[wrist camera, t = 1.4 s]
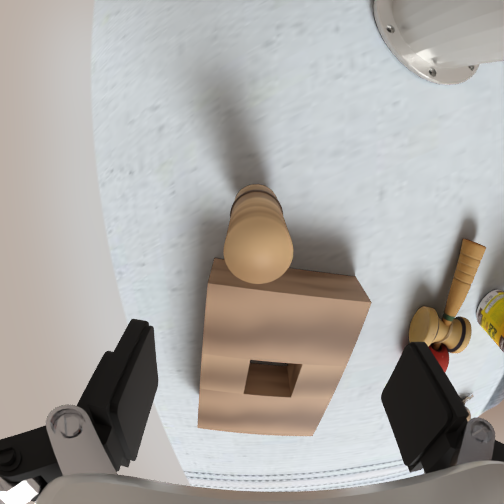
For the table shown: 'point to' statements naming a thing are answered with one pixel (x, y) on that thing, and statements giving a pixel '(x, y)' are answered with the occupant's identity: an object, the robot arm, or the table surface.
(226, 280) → the seat board
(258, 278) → the oak peg
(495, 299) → the supplement bottle
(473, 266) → the kendama
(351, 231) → the table surface
